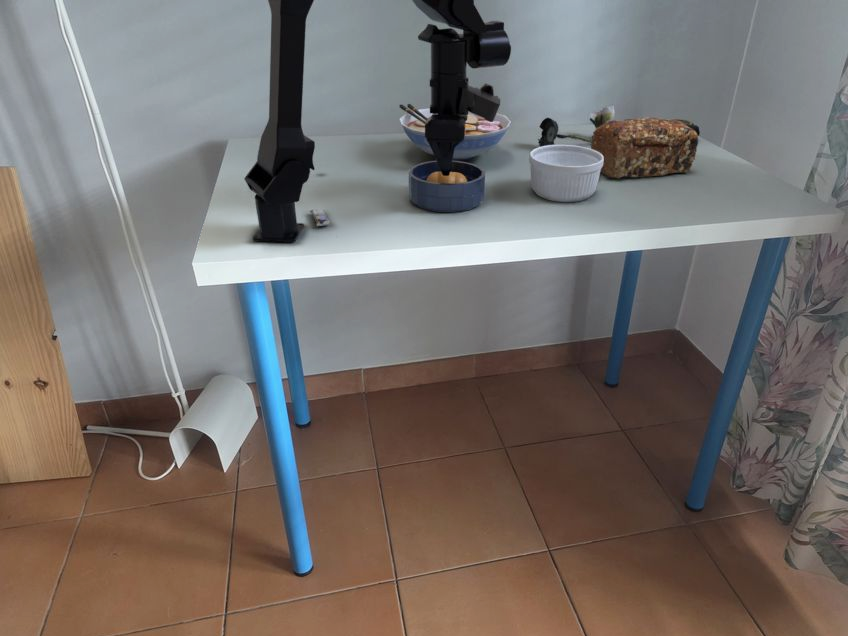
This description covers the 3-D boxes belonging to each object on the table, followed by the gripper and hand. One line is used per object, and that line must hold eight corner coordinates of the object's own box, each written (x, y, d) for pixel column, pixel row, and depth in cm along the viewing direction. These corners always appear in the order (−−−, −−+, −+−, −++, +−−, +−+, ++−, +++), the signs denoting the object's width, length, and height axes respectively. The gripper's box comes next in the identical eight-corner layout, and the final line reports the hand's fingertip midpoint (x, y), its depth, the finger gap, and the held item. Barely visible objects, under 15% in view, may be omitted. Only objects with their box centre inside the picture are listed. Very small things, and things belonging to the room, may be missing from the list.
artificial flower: (530, 149, 151) (532, 102, 148) (611, 151, 160) (614, 107, 158) (551, 149, 143) (553, 99, 141) (636, 151, 153) (639, 104, 150)
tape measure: (670, 143, 153) (674, 126, 151) (657, 135, 159) (660, 119, 157) (698, 142, 155) (701, 125, 153) (683, 134, 160) (686, 118, 158)
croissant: (470, 202, 117) (471, 177, 115) (421, 200, 117) (421, 175, 115) (471, 193, 121) (472, 169, 119) (423, 191, 121) (423, 167, 119)
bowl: (483, 214, 114) (484, 186, 111) (405, 211, 114) (404, 183, 111) (484, 188, 125) (485, 161, 122) (413, 185, 125) (413, 159, 122)
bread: (611, 182, 130) (619, 129, 124) (586, 165, 138) (592, 115, 133) (694, 174, 135) (705, 123, 130) (665, 158, 143) (674, 110, 138)
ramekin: (542, 207, 117) (545, 168, 113) (516, 183, 128) (519, 146, 124) (611, 202, 120) (616, 163, 117) (580, 178, 131) (584, 142, 127)
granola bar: (309, 213, 112) (308, 207, 111) (323, 212, 113) (322, 206, 112) (316, 228, 107) (316, 222, 106) (331, 226, 107) (330, 220, 107)
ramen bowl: (529, 168, 135) (533, 127, 131) (421, 180, 128) (421, 136, 123) (481, 136, 155) (483, 98, 150) (385, 144, 147) (384, 105, 143)
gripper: (498, 84, 100) (494, 186, 108) (498, 62, 116) (494, 152, 124) (424, 82, 100) (425, 184, 109) (434, 60, 116) (434, 150, 124)
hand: (447, 167), depth 116 cm, fingers open, 9 cm apart
